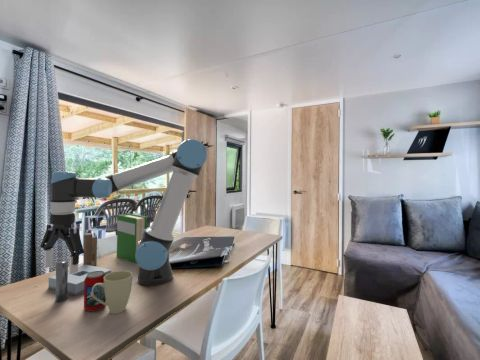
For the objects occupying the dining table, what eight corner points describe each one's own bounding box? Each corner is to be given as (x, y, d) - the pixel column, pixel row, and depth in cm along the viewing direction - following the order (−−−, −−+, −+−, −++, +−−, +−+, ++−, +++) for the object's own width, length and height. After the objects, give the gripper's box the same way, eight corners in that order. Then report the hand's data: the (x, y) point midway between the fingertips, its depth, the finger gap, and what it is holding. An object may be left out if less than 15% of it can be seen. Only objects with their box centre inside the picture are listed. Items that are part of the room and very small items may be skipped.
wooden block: (96, 264, 127) (97, 229, 127) (90, 271, 117) (91, 234, 117) (88, 264, 126) (89, 230, 126) (82, 272, 116) (82, 235, 115)
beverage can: (89, 314, 81) (90, 279, 81) (79, 308, 85) (80, 274, 84) (109, 306, 87) (110, 272, 87) (99, 300, 90) (100, 268, 90)
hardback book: (146, 259, 136) (147, 216, 135) (134, 263, 130) (135, 218, 129) (128, 253, 146) (129, 213, 145) (116, 256, 140) (117, 214, 139)
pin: (69, 298, 91) (70, 261, 91) (59, 302, 88) (60, 264, 88) (63, 296, 93) (63, 260, 92) (53, 300, 89) (53, 263, 89)
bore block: (110, 279, 108) (111, 269, 108) (75, 295, 93) (75, 284, 93) (85, 274, 114) (85, 264, 114) (48, 288, 99) (48, 277, 99)
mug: (117, 300, 91) (118, 268, 91) (137, 306, 87) (138, 273, 87) (89, 315, 81) (90, 279, 81) (110, 323, 77) (111, 285, 77)
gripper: (96, 214, 89) (94, 272, 89) (51, 209, 98) (49, 261, 98) (76, 217, 82) (74, 279, 82) (29, 211, 91) (27, 267, 91)
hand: (60, 269), depth 90 cm, fingers open, 13 cm apart
